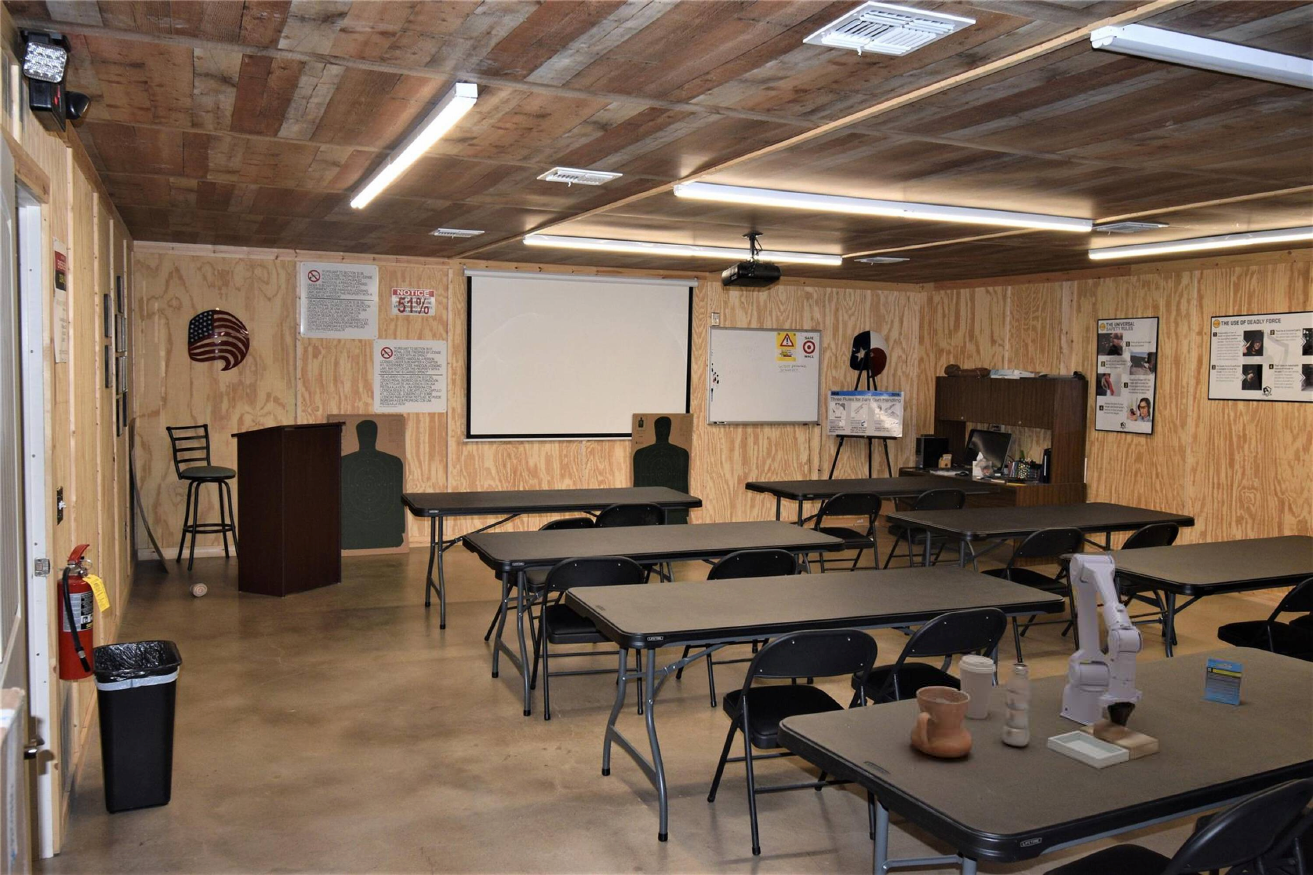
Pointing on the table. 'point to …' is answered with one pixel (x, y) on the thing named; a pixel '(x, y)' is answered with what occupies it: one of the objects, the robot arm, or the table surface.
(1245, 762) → the table surface
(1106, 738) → the brown block
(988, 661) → the coffee cup
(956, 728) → the ceramic jug
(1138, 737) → the tan wooden flat block
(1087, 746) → the box
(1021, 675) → the plastic bottle
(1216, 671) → the label tape box
